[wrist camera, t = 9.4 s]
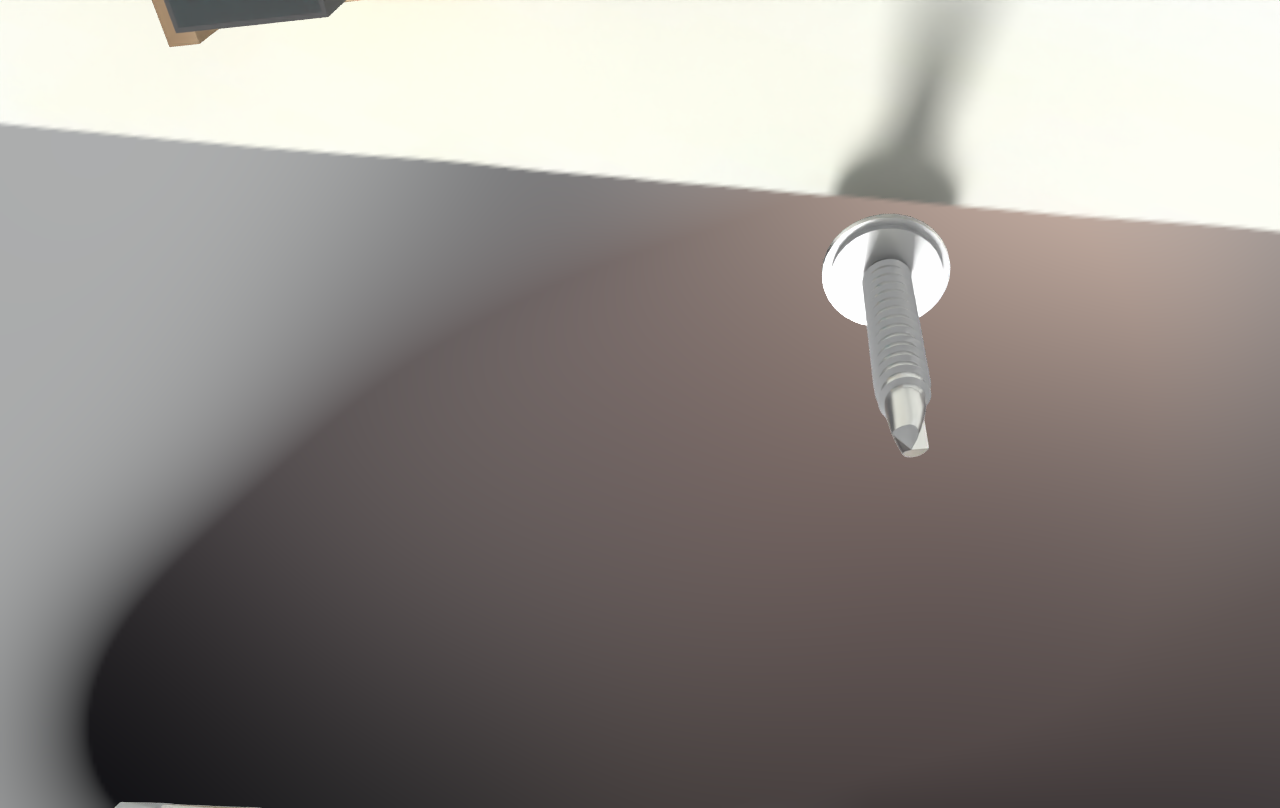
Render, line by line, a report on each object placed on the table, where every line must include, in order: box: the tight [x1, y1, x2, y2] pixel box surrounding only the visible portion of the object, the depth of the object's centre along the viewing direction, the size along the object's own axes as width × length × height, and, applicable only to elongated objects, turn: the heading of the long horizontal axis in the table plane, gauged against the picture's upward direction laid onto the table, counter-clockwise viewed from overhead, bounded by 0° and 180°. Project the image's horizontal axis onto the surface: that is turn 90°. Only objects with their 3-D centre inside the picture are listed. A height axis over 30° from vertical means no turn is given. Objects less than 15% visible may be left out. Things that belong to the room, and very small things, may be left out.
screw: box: [822, 214, 950, 457], centre depth 39 cm, size 13×5×5 cm
